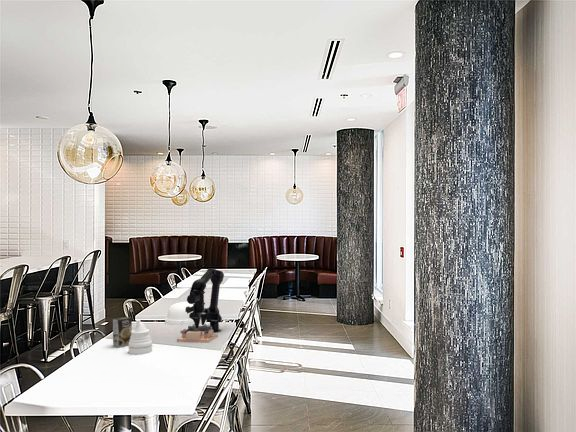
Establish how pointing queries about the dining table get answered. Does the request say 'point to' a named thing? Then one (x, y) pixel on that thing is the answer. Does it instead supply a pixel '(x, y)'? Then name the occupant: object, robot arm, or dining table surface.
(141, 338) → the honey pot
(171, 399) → the dining table surface
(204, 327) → the glasses frame
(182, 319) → the dome cover
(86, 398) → the dining table surface
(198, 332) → the display stand
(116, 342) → the coffee box
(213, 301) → the robot arm
